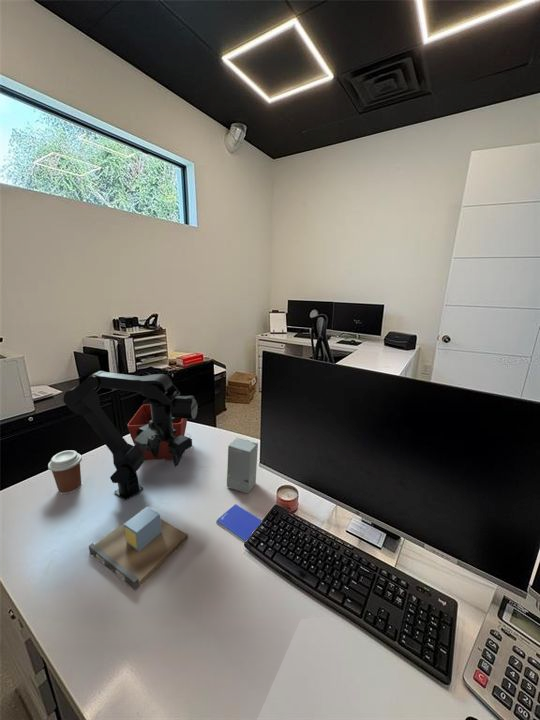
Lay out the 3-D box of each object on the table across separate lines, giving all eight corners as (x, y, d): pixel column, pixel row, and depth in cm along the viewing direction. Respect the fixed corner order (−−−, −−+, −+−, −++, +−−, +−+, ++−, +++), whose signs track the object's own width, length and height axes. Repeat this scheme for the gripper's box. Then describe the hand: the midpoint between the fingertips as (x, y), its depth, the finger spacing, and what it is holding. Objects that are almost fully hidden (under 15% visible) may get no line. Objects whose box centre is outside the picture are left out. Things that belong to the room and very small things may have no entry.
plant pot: (146, 439, 128) (142, 403, 124) (191, 437, 130) (189, 402, 126) (131, 466, 110) (126, 425, 105) (184, 464, 112) (181, 423, 107)
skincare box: (226, 487, 100) (225, 446, 95) (236, 475, 106) (235, 435, 102) (249, 494, 97) (249, 452, 92) (258, 481, 103) (258, 441, 99)
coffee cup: (66, 500, 93) (59, 467, 90) (47, 492, 96) (39, 460, 93) (92, 482, 101) (87, 451, 98) (74, 475, 104) (68, 445, 101)
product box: (149, 524, 83) (147, 506, 81) (161, 531, 80) (159, 513, 79) (126, 543, 77) (123, 524, 75) (138, 552, 74) (136, 532, 73)
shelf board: (89, 554, 75) (87, 546, 74) (143, 512, 89) (143, 505, 88) (134, 591, 66) (133, 583, 66) (187, 538, 80) (187, 531, 79)
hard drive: (216, 519, 85) (248, 542, 78) (235, 503, 91) (267, 523, 84) (216, 524, 86) (248, 547, 79) (235, 507, 92) (267, 527, 85)
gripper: (117, 419, 87) (124, 465, 91) (161, 436, 78) (165, 487, 82) (150, 405, 96) (154, 448, 100) (192, 420, 87) (194, 466, 91)
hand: (166, 461), depth 93 cm, fingers open, 9 cm apart
